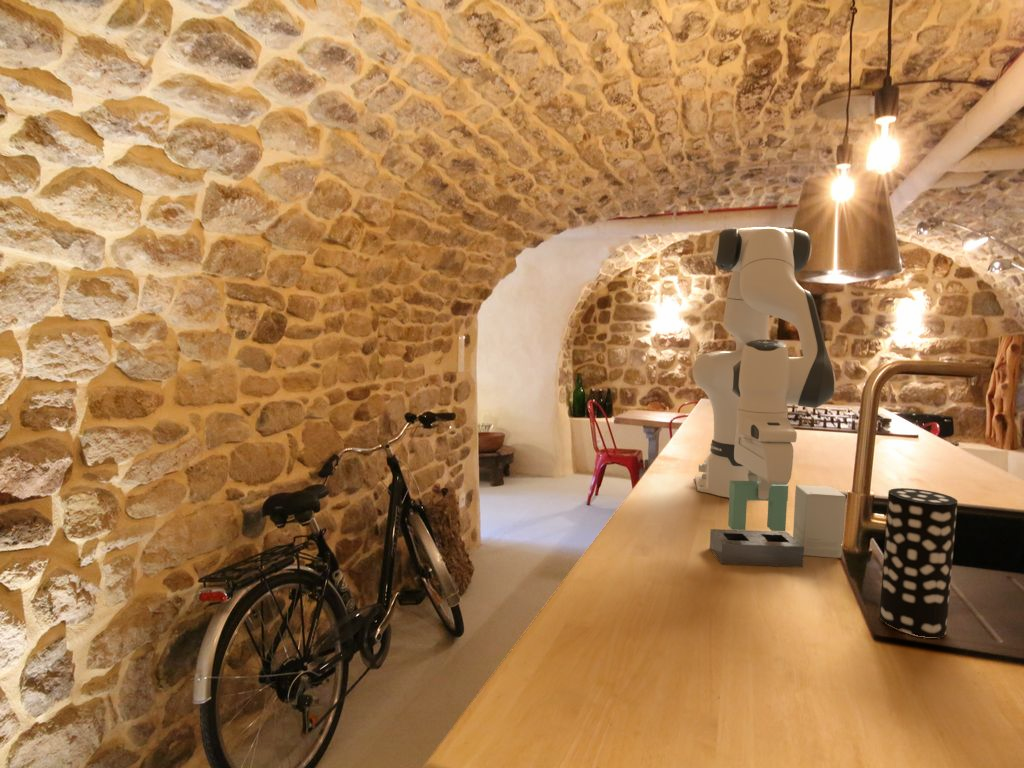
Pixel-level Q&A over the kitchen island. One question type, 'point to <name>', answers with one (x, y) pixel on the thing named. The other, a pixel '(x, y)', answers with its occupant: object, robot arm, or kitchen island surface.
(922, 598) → the white-spotted black cylinder
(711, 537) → the gray socket base
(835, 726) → the kitchen island surface
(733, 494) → the green u-shaped block
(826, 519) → the supplement box
